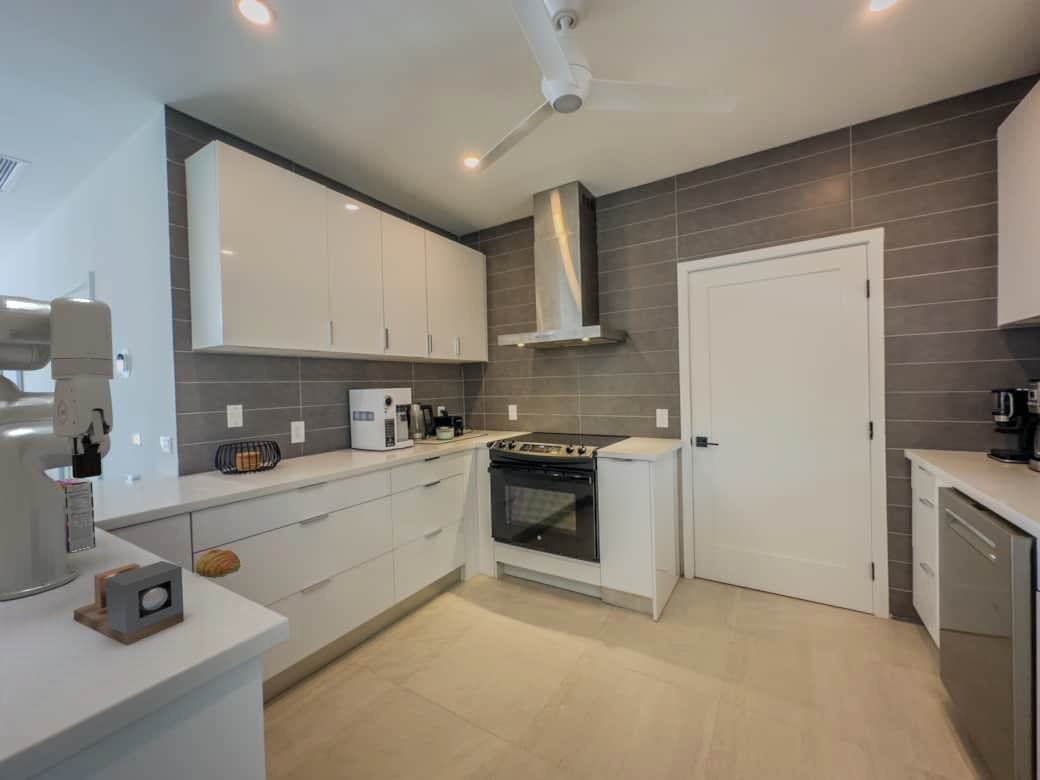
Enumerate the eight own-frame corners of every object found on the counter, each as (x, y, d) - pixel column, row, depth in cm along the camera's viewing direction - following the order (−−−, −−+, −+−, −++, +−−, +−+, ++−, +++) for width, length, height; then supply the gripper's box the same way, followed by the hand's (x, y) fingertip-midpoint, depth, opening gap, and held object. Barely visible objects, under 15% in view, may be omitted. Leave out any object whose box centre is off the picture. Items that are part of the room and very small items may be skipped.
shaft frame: (73, 619, 69) (71, 566, 69) (128, 599, 75) (127, 551, 75) (127, 645, 61) (124, 585, 61) (183, 620, 67) (181, 566, 67)
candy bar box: (56, 546, 106) (54, 480, 106) (84, 539, 110) (82, 476, 111) (66, 554, 100) (64, 484, 100) (96, 547, 104) (93, 480, 104)
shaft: (95, 606, 67) (94, 575, 67) (135, 592, 72) (133, 563, 72) (135, 624, 62) (134, 589, 62) (175, 607, 66) (174, 575, 66)
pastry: (250, 570, 87) (249, 551, 87) (212, 584, 81) (211, 563, 81) (228, 562, 92) (227, 544, 92) (191, 574, 86) (190, 555, 86)
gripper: (35, 372, 74) (39, 478, 74) (71, 367, 67) (75, 484, 67) (93, 373, 81) (97, 470, 81) (131, 368, 74) (135, 475, 74)
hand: (87, 476), depth 74 cm, fingers closed
